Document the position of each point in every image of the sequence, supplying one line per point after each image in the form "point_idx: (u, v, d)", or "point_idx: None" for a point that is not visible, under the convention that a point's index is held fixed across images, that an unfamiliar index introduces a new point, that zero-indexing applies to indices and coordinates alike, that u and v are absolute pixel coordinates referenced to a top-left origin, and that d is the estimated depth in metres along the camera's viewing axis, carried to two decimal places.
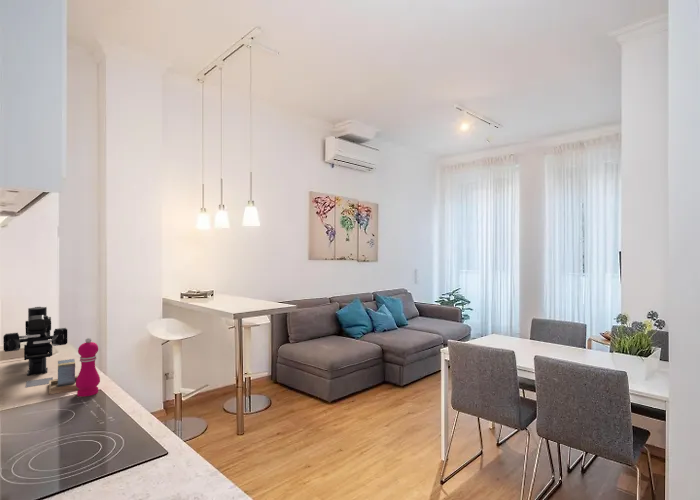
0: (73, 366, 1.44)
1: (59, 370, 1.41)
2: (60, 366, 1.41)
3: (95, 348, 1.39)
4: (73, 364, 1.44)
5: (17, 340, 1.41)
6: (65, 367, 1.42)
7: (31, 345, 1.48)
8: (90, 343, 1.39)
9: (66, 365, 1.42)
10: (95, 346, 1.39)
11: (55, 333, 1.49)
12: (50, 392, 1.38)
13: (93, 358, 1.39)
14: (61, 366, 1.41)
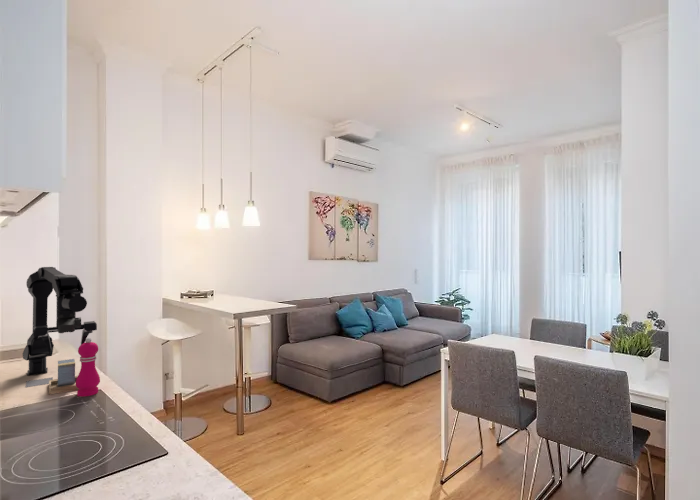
0: (73, 366, 1.44)
1: (59, 370, 1.41)
2: (60, 366, 1.41)
3: (95, 348, 1.39)
4: (73, 364, 1.44)
5: (47, 343, 1.41)
6: (65, 367, 1.42)
7: None
8: (90, 343, 1.39)
9: (66, 365, 1.42)
10: (95, 346, 1.39)
11: (84, 335, 1.47)
12: (50, 392, 1.38)
13: (93, 358, 1.39)
14: (61, 366, 1.41)
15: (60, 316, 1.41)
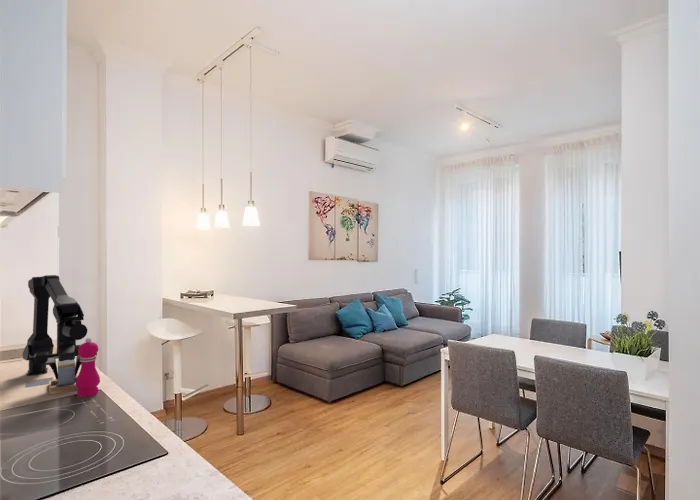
0: (73, 366, 1.44)
1: (59, 370, 1.41)
2: (60, 366, 1.41)
3: (95, 348, 1.39)
4: (73, 364, 1.44)
5: (54, 369, 1.42)
6: (65, 367, 1.42)
7: None
8: (90, 343, 1.39)
9: (66, 365, 1.42)
10: (95, 346, 1.39)
11: (78, 362, 1.46)
12: (50, 392, 1.38)
13: (93, 358, 1.39)
14: (61, 366, 1.41)
15: (60, 343, 1.42)
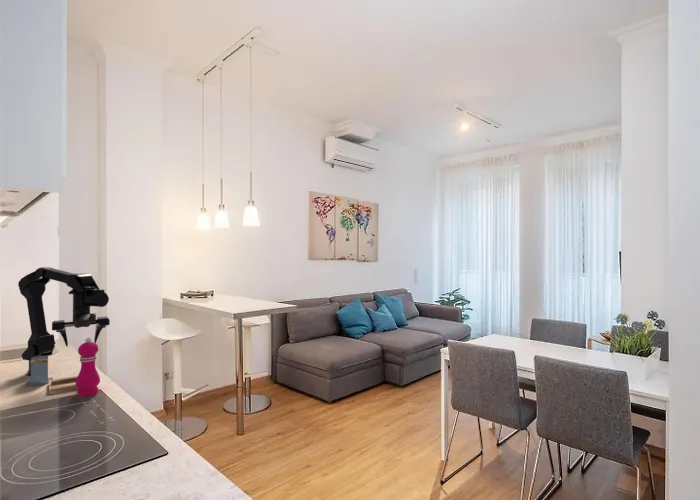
0: (46, 362, 1.48)
1: (32, 366, 1.45)
2: (33, 362, 1.45)
3: (95, 348, 1.39)
4: (46, 360, 1.48)
5: (64, 336, 1.52)
6: (38, 363, 1.46)
7: None
8: (90, 343, 1.39)
9: (39, 361, 1.46)
10: (95, 346, 1.39)
11: (98, 329, 1.58)
12: (50, 392, 1.38)
13: (93, 358, 1.39)
14: (34, 362, 1.45)
15: (76, 312, 1.52)
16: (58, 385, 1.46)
